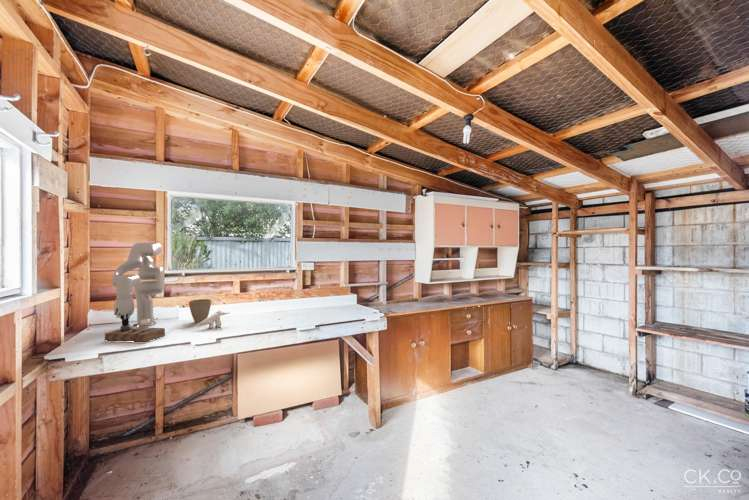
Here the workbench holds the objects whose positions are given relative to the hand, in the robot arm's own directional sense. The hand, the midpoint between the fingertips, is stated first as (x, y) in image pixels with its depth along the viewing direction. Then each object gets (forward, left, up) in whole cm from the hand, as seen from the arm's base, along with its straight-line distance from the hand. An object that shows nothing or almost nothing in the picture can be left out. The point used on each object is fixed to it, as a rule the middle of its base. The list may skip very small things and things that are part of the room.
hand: (125, 325), depth 195 cm
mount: (0, +7, -8) cm, 11 cm away
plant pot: (-42, +20, -9) cm, 47 cm away
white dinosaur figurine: (-28, +39, -9) cm, 49 cm away
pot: (0, +7, -3) cm, 8 cm away
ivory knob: (0, +14, -4) cm, 15 cm away
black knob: (0, 0, -8) cm, 8 cm away
